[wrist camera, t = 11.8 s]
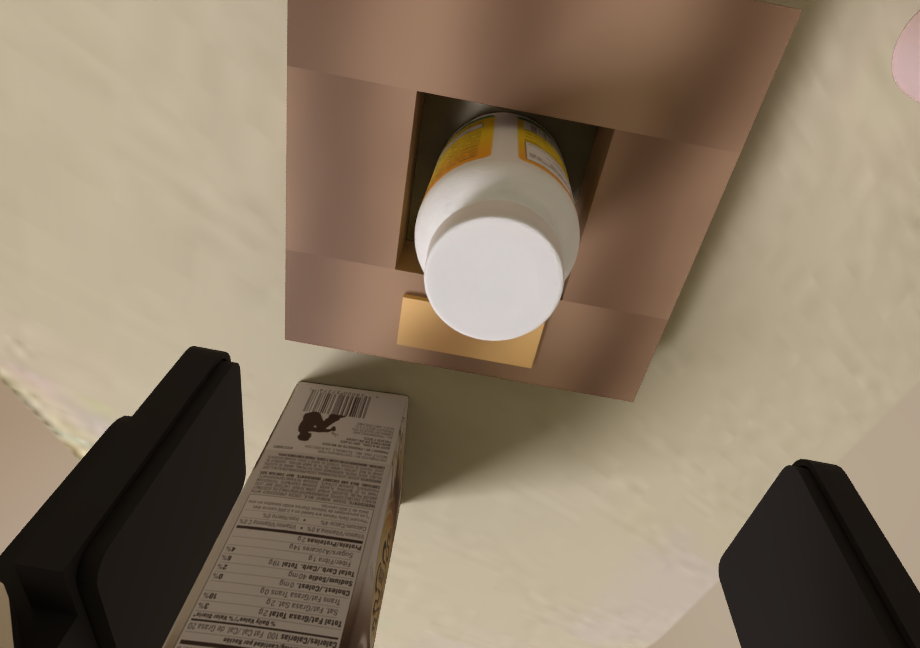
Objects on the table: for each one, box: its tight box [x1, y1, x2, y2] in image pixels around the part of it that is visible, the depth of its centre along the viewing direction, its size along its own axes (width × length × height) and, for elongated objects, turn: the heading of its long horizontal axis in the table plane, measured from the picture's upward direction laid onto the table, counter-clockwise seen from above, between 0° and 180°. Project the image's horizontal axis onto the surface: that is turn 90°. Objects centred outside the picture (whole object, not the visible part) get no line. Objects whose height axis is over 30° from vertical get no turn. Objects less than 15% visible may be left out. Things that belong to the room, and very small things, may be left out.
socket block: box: [285, 0, 802, 402], centre depth 23 cm, size 16×16×3 cm
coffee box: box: [162, 382, 408, 648], centre depth 27 cm, size 9×6×16 cm
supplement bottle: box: [415, 112, 580, 341], centre depth 20 cm, size 5×5×10 cm
